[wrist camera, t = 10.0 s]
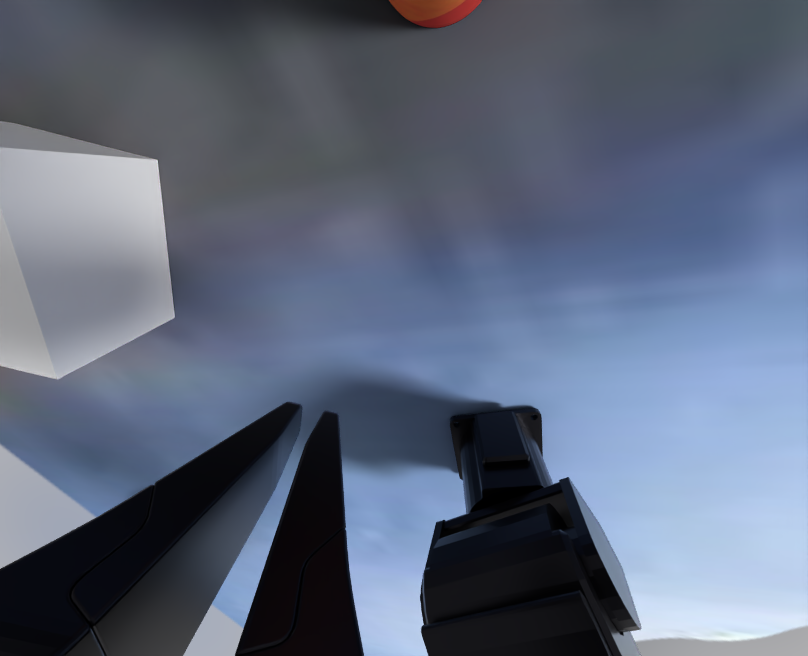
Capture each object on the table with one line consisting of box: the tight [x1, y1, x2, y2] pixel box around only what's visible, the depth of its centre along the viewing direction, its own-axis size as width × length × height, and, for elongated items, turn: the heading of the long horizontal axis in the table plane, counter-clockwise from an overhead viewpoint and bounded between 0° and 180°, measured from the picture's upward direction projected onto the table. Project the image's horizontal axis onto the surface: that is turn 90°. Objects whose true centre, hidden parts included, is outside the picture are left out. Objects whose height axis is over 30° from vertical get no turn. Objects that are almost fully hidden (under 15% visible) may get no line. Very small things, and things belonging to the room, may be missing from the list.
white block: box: [0, 121, 175, 379], centre depth 16 cm, size 9×10×8 cm
